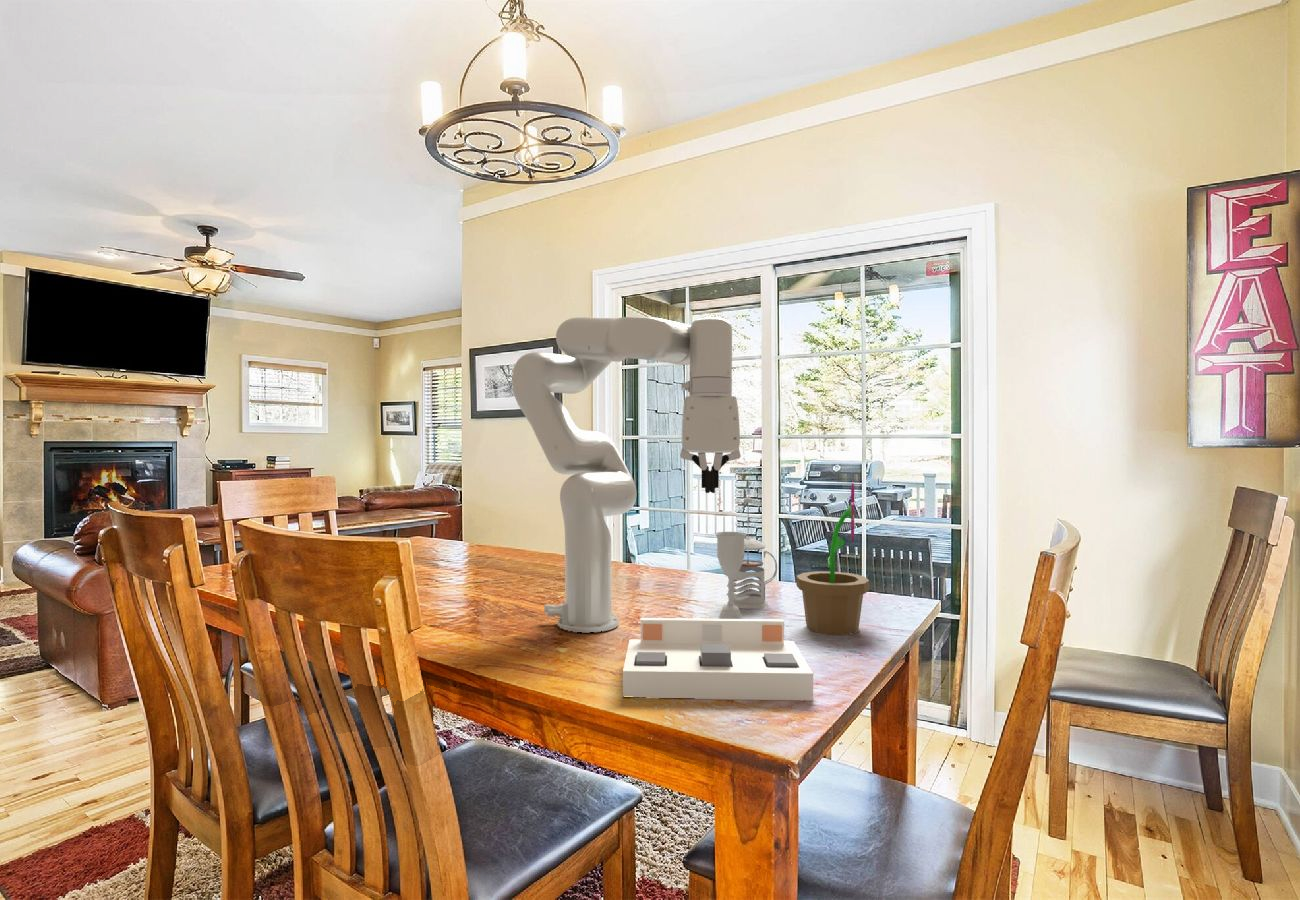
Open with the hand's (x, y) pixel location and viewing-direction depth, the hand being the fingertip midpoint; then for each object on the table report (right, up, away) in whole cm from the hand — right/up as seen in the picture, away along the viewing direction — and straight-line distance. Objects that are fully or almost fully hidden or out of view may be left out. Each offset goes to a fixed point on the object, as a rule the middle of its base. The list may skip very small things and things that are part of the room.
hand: (709, 492), depth 119 cm
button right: (+9, -28, -16) cm, 33 cm away
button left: (-11, -28, -15) cm, 33 cm away
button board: (0, -29, -13) cm, 32 cm away
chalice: (+7, -29, +26) cm, 40 cm away
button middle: (-1, -26, -16) cm, 31 cm away
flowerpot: (+27, -29, +18) cm, 43 cm away
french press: (+13, -29, +38) cm, 49 cm away
